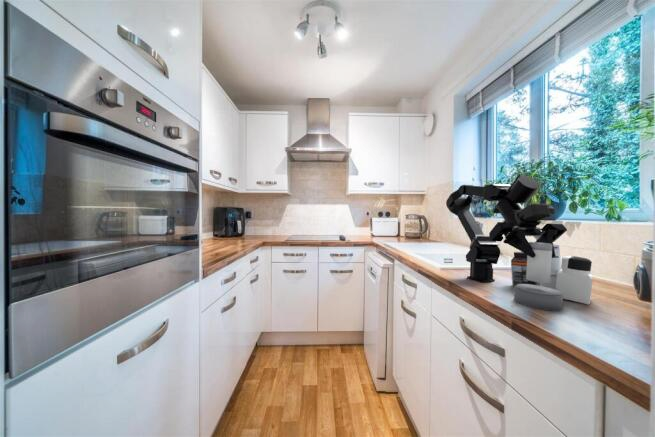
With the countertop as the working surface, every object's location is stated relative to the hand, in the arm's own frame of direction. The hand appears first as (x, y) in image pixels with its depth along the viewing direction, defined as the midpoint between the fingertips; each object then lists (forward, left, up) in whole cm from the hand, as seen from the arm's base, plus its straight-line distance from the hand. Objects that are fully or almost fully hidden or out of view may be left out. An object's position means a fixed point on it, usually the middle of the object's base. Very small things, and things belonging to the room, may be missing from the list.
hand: (543, 257), depth 67 cm
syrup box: (-7, +17, -13) cm, 22 cm away
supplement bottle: (-13, +14, -13) cm, 23 cm away
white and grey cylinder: (-1, 0, -7) cm, 7 cm away
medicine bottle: (-1, +15, -13) cm, 20 cm away
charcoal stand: (-1, 0, -13) cm, 13 cm away
